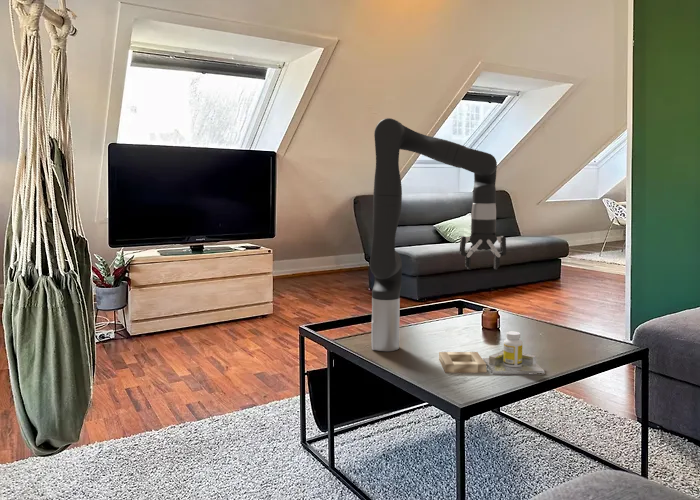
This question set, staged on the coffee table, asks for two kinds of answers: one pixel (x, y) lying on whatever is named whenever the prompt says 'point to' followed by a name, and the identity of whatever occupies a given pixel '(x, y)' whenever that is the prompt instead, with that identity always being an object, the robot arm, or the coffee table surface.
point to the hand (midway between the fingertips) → (482, 268)
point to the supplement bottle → (512, 350)
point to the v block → (498, 367)
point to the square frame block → (462, 362)
